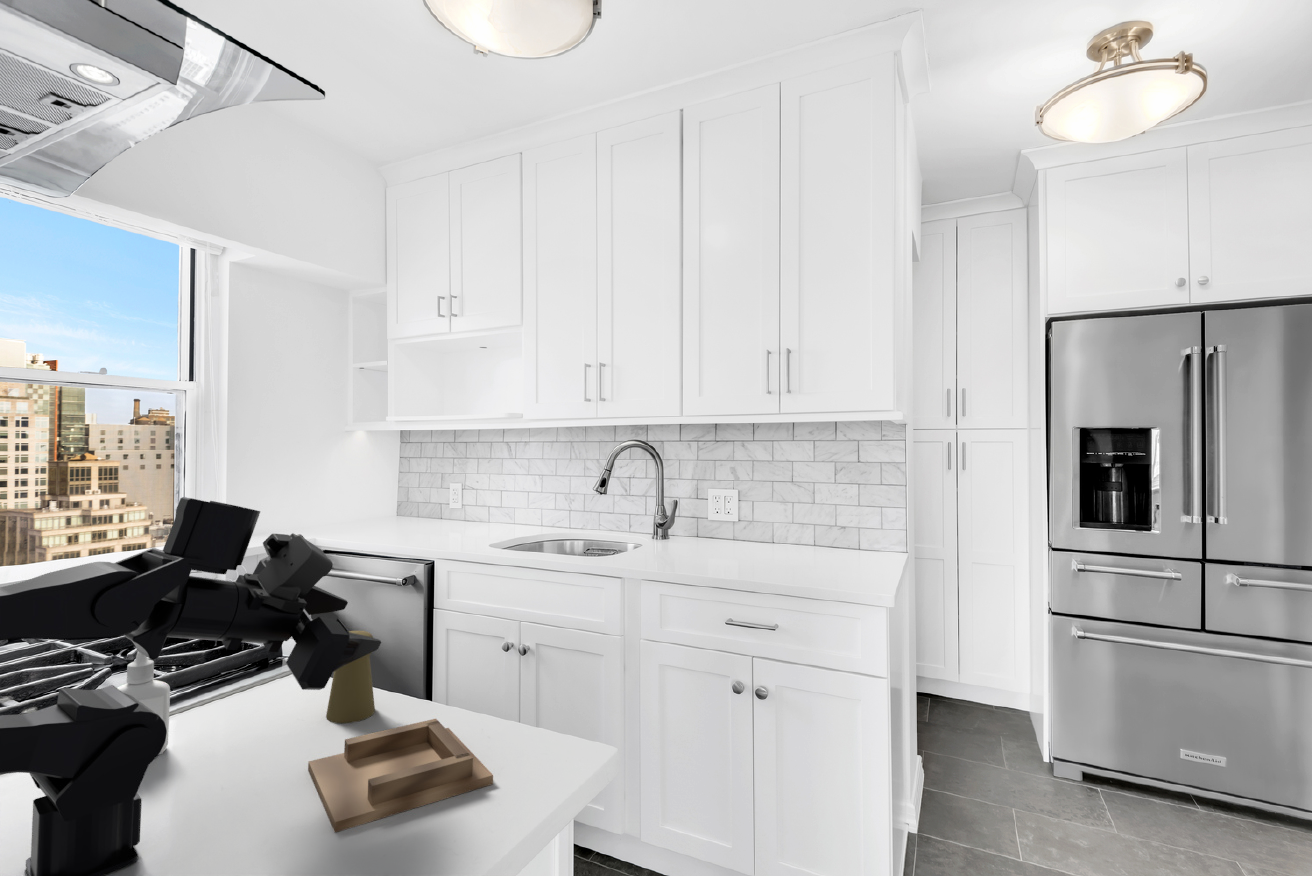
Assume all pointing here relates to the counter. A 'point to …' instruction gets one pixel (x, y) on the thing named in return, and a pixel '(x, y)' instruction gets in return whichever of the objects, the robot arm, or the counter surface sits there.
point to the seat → (395, 773)
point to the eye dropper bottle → (148, 689)
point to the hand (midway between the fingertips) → (361, 624)
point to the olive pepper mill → (352, 691)
